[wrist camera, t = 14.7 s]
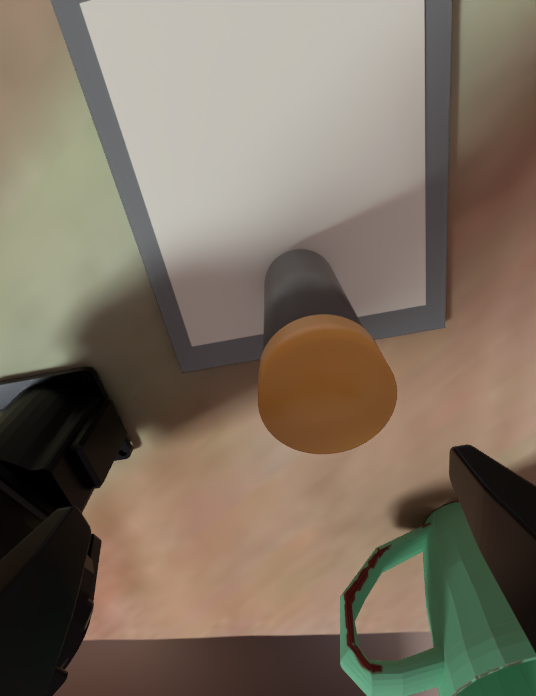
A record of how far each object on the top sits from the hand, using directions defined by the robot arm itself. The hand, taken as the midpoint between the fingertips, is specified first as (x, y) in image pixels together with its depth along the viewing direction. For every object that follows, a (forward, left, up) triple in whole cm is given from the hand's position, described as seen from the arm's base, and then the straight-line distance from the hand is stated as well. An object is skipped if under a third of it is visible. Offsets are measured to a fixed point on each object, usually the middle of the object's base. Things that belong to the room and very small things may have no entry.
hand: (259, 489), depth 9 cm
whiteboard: (+2, +6, -12) cm, 13 cm away
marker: (+2, +1, -11) cm, 11 cm away
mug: (+8, -19, -12) cm, 24 cm away
